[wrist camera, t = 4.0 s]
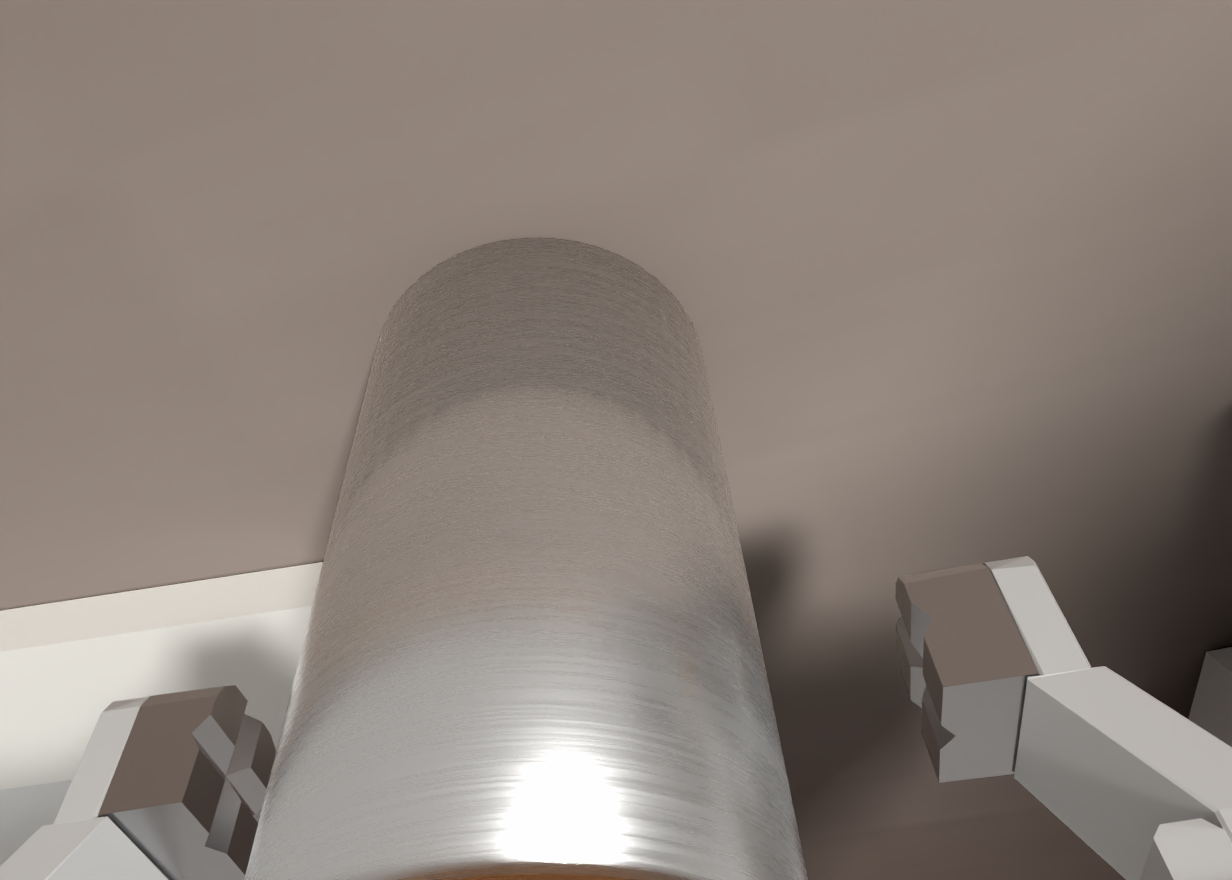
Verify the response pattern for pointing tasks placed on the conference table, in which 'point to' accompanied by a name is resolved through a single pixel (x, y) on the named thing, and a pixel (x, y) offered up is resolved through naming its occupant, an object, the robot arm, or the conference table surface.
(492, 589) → the copper rimmed tube
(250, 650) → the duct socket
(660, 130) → the conference table surface
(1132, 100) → the conference table surface
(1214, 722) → the rock
